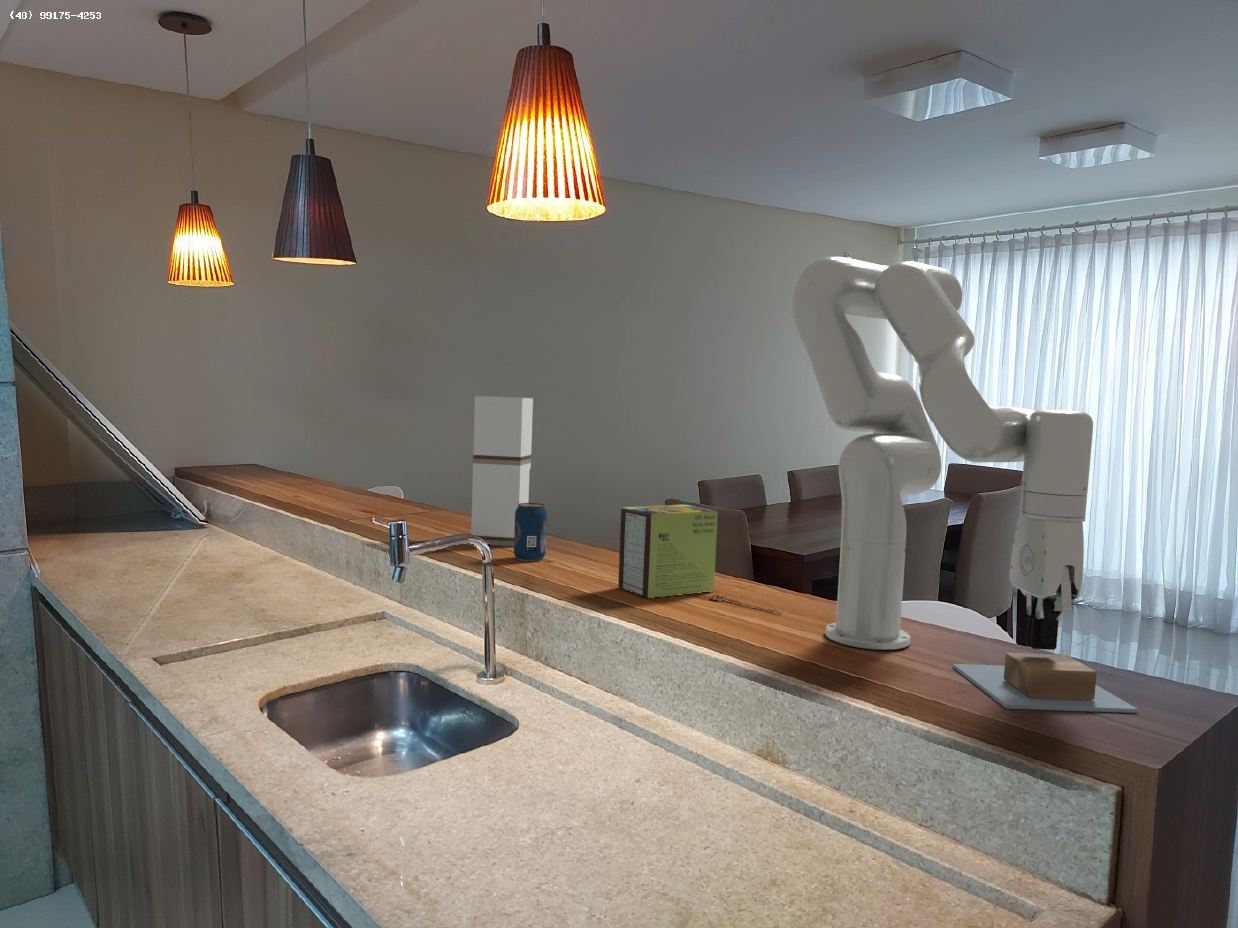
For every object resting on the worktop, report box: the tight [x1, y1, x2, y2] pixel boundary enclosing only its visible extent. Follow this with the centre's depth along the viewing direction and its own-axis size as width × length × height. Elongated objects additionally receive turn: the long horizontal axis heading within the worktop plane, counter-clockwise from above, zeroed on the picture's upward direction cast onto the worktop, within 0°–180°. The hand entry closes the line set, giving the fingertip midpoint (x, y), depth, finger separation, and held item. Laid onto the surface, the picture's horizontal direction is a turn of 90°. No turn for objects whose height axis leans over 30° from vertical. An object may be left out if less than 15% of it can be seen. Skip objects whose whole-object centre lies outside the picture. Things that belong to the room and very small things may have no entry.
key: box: [709, 594, 781, 614], centre depth 152 cm, size 6×1×15 cm
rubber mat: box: [952, 663, 1138, 714], centre depth 111 cm, size 16×16×1 cm
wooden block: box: [1004, 652, 1098, 700], centre depth 109 cm, size 4×8×7 cm
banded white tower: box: [470, 395, 534, 547], centre depth 206 cm, size 11×11×35 cm
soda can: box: [513, 502, 548, 562], centre depth 186 cm, size 7×7×12 cm
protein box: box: [617, 504, 719, 599], centre depth 161 cm, size 10×15×16 cm
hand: (1040, 647), depth 111 cm, fingers closed
